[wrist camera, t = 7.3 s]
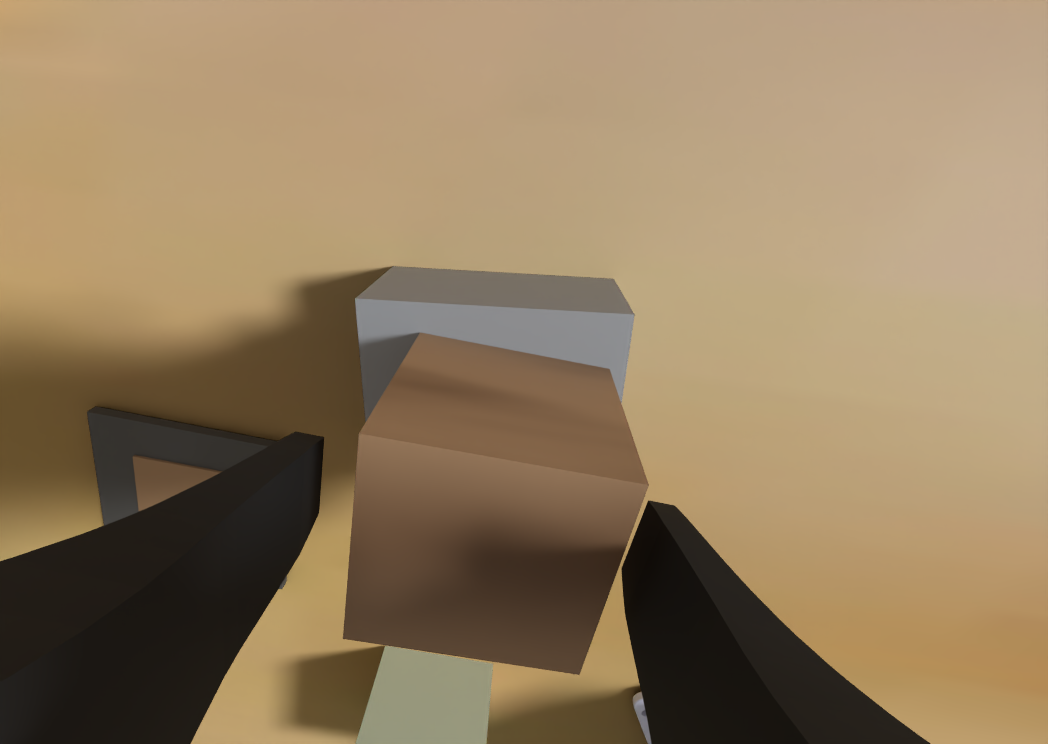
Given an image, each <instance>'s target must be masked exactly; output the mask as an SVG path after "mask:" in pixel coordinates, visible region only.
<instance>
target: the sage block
mask: <svg viewBox="0 0 1048 744" xmlns="http://www.w3.org/2000/svg"><path fill="white" fill-rule="evenodd" d="M492 671H493V664H491V663H485V662H479V661H474V660H468V659H462V658H456V657H450V656H444V655H438V654H432V653H426V652H420V651H414V650H408V649H402V648H396V647H391V646H385V648H384V652H383V655H382V658H381V661H380V665H379V668H378V671H377V675H376V678H375V681H374V685H373V688H372V691H371V694H370V698H369V701H368V704H367V708H366V711H365V714H364V718H363V721H362V724H361V728H360V731H359V734H358V737H357V741H356V744H486V742H487V730H488V718H489V706H490V695H491V683H492Z"/></svg>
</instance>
